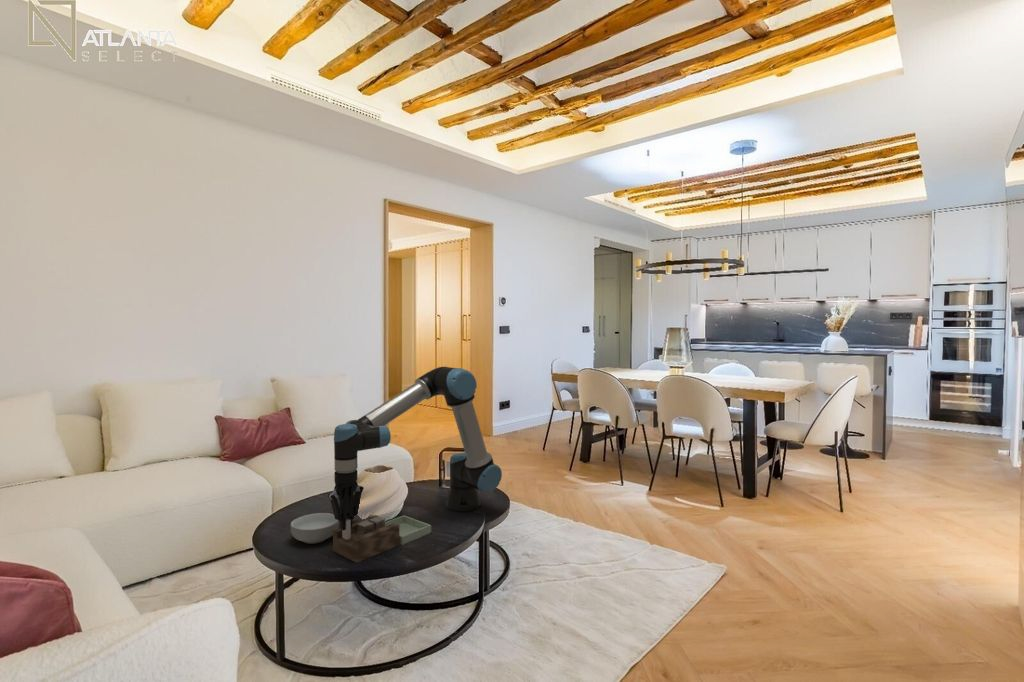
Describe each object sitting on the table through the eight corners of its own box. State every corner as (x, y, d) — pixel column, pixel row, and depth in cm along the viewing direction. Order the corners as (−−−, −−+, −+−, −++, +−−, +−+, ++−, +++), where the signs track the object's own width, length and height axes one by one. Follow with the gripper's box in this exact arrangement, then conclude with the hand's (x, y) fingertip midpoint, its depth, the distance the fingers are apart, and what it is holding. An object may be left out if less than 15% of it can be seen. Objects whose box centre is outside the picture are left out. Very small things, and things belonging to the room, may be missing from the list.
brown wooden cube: (366, 531, 187) (366, 520, 186) (373, 534, 184) (373, 523, 184) (357, 534, 183) (357, 523, 183) (364, 537, 181) (364, 526, 181)
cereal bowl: (348, 534, 196) (348, 516, 196) (317, 552, 181) (316, 532, 180) (313, 527, 202) (313, 509, 202) (280, 544, 187) (280, 525, 187)
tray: (404, 522, 208) (404, 515, 208) (431, 532, 198) (431, 525, 198) (375, 533, 197) (375, 525, 197) (402, 545, 187) (402, 537, 187)
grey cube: (378, 527, 190) (378, 516, 190) (385, 529, 188) (385, 519, 188) (369, 530, 187) (369, 519, 187) (376, 533, 185) (375, 522, 185)
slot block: (375, 534, 196) (375, 515, 195) (399, 544, 187) (399, 524, 187) (333, 551, 182) (332, 530, 181) (356, 562, 173) (356, 540, 173)
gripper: (355, 464, 184) (356, 529, 185) (322, 472, 174) (323, 541, 175) (368, 467, 179) (369, 534, 180) (335, 476, 169) (335, 547, 170)
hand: (346, 537), depth 178 cm, fingers closed
